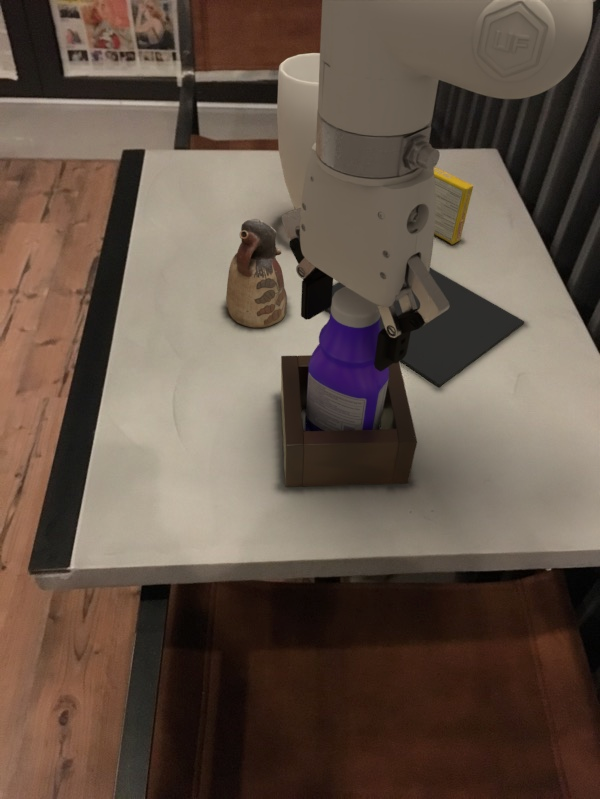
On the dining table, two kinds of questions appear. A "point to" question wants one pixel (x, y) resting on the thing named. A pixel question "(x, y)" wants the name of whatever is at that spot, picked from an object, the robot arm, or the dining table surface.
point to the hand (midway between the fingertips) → (351, 335)
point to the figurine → (256, 278)
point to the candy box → (450, 205)
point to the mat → (453, 332)
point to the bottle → (346, 368)
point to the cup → (297, 118)
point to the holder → (345, 437)
